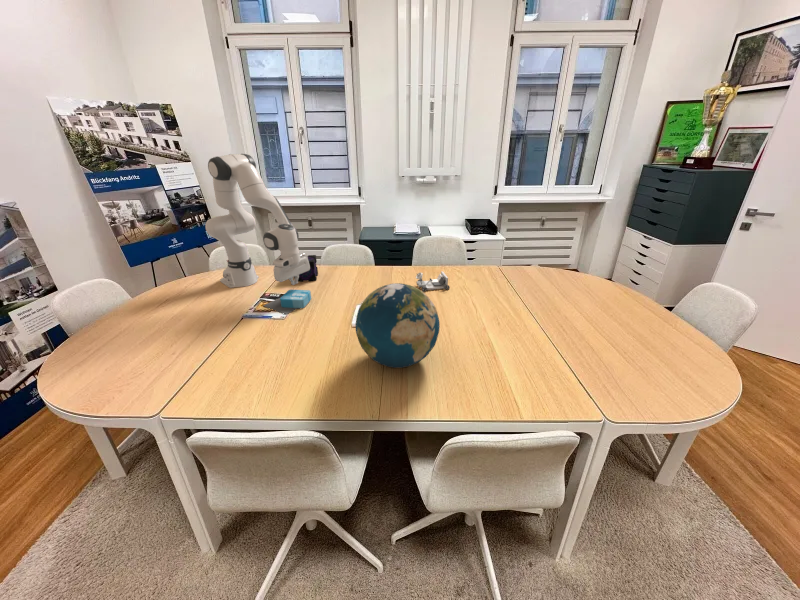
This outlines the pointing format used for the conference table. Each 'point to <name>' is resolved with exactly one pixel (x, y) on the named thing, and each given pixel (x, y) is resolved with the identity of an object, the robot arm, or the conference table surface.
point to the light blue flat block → (295, 298)
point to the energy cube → (312, 272)
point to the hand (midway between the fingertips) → (294, 284)
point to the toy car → (433, 282)
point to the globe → (397, 325)
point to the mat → (279, 307)
